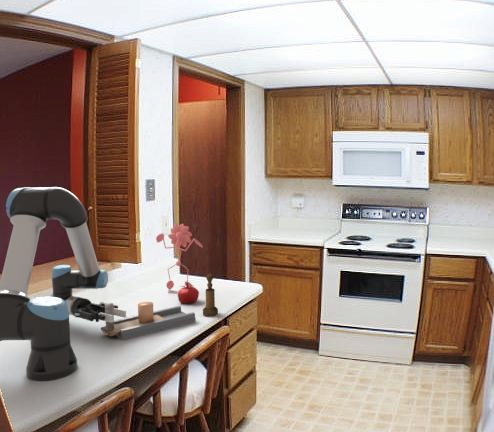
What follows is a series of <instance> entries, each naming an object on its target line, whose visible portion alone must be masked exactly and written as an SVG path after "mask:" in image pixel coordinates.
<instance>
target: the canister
mask: <svg viewBox="0 0 494 432" xmlns="http://www.w3.org/2000/svg"><path fill="white" fill-rule="evenodd" d="M153 312H154V302H151V301H142V302H139V303H137V313H138V314H137V315H138V321H139V323H150V322H153V321H154V315H153Z"/></svg>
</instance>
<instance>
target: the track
mask: <svg viewBox="0 0 494 432" xmlns="http://www.w3.org/2000/svg"><path fill="white" fill-rule="evenodd" d="M156 314H157V315H159V316H161V317H162V318H164V319H163V320H159V321H155V322H150V323H146V324H142V325H138V326H134V327H129V328H125V329H121V330H120V334H117V335H115V336H117V338H119V339H121V341H124V340H129V339H133V338H137V337H141V336H145V335H148V334H153V333H156V332H161V331H164V330H168V329H173V328H176V327H180V326H184V325H189V324H192V323H196V313H195V312H189V313H186V312H184V311H182V306H181V305H177V306H172V307H167V308H163V309H159V310H153V315H156ZM135 319H138V314H136V315H132V316H128V317H127V316H126V317H125V318H124V317H122V318H120V319H114V324H117V323H122V322H126V321H130V320H135Z"/></svg>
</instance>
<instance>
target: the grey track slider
mask: <svg viewBox="0 0 494 432" xmlns="http://www.w3.org/2000/svg"><path fill="white" fill-rule="evenodd" d="M113 305H114V303H113V302H106V304H105V313H106V314H110V315H113V322H112V323H111V322H107V321H105V326H104V325H103V326H101V327H100V330H101V332H103V333H104V334H106V335H107V336H109V337H113V336H116V335H117V334H120V330H121V329H125V328H129V327H134V326H138V325H142V324H146V323H139V321H138V319H135V320H130V321H126V322H122V323H117V324H114V320H115V318H114V316H115V315H114V314H113ZM163 319H164V318H162V317H161V316H159V315H157V314H156V315H154V321H153V322H155V321H159V320H163Z"/></svg>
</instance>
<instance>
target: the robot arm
mask: <svg viewBox="0 0 494 432" xmlns="http://www.w3.org/2000/svg"><path fill="white" fill-rule="evenodd" d="M5 207H6V210H5V211H6V214H7V217H8V218H9V219H10V220H9V221H10V223H11V224H12V225H13V226H12V231H11V235H10V239H9V243H8V248H7V252H6V255H5V262H4V265H3V269H2V273H1V277H0V342H2V341H29V342H30V354H29V357H28V360H27V364H26V366H25V371H26V377H27V378H28V379H30V380H33V381H42V382H43V381H51V380H56V379H61V378H64V377H66V376H69V375H70V374H72V373H74V372H75V371H76V370H77V369H78V358H77V356H76V354H75V351H74V349H73V347H72V344H71V332H70V330H71V329H70V328H71V327H70V316H73V317H75V318H79V319H83V320H86V321H90V322H93V321H95V323H98V322H99V321H103V322H106V321H107V322H111V323H112V322H113V315H110V314H106V313H105V304H106V303H107V302H106V303H105V302H103V301H100V302H99V304H97V303H92V301H91V300H90V299H88V298H84V297H79V296H77V295H73V290H78V289H80V290H81V289H84V290H85V289H87V290H88V289H89V290H90V289H91V290H93V289H94V290H97V289H104V288H106V287H107V286H108V283H109V282H108V281H109V274H108V272H107V270H105V269H100V266H99V263H98V260H97V256H96V252H95V249H94V245H93V242H92V238H91V235H90V231H89V227H88V224H87V221H88V220H89V219H88V218H89V217H88V214H87V210H86V208H85V207H84V205H83V203H82V202H81V201H80V199H79V198H78V197H77V196H76V195H75V194H74V193H72V192H71V191H69V190H67V189H66V188H63V187H58V186H52V187H51V186H50V187H49V186H48V187H46V186H45V187H30V186H26V187H25V186H24V187H18V188H15V189H13V190H12V191H11V192H10V193H9V195H8V197H7V199H6V202H5ZM48 220H51V221H52V220H56V221H59V222H60V225H61V226H62V227H63V228H64V229H65V231H66V234H67V237H68V240H69V244H70V247H71V249H72V251H73V254H74V257H75V258H74V259H75V260H76V263H77V267H78V269H79V270H72V266H71V265H69V264H59V265H55V266H54V267H52V269H51V282H52V283H51V284H52V294H50V296H48V295H46V296H36V297H32V298H30V297H29V295H28V290H29V286H30V280H31V277H32V270H33V267H34V261H35V257H36V252H37V248H38V242H39V237H40V233H41V230H43V229H44V228H46V226H47V223H48V222H47V221H48ZM113 314H114V316H115V317H121V318H127V309H121V308H119V306H118V304H113Z"/></svg>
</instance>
